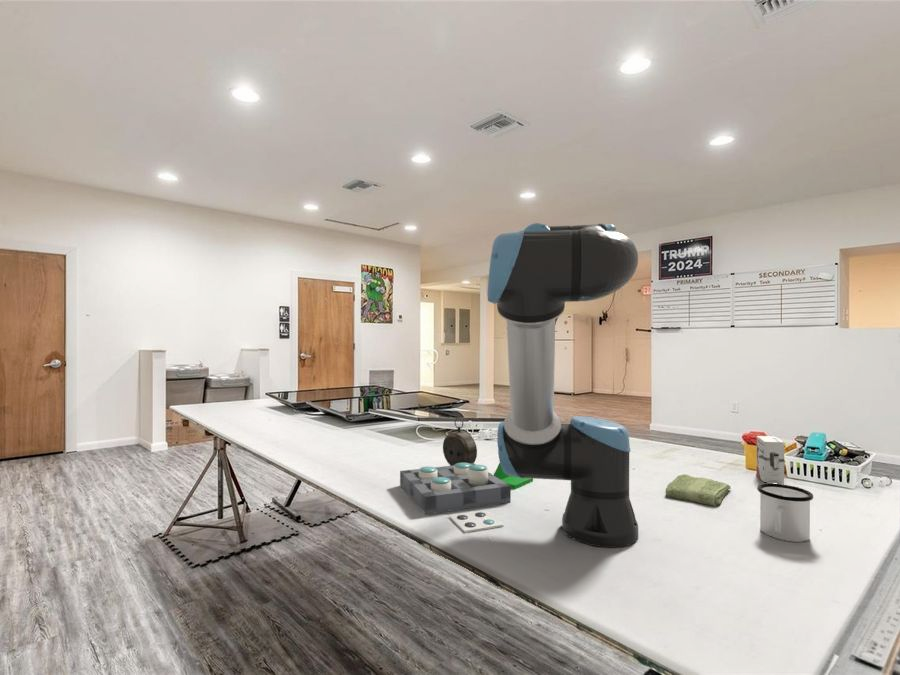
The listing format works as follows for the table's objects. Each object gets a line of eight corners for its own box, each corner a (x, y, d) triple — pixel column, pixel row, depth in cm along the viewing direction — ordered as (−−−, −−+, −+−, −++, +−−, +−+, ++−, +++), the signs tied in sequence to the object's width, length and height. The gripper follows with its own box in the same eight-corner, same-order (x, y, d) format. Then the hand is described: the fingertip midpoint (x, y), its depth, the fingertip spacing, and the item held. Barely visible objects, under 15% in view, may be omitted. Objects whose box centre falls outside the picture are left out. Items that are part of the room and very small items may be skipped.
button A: (454, 499, 114) (454, 481, 114) (434, 502, 112) (434, 483, 112) (446, 493, 118) (446, 475, 118) (428, 495, 117) (428, 477, 117)
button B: (440, 487, 123) (440, 470, 123) (421, 489, 121) (421, 472, 121) (433, 481, 128) (433, 465, 128) (416, 483, 126) (416, 467, 126)
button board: (510, 502, 115) (510, 485, 115) (425, 514, 107) (425, 496, 107) (474, 477, 136) (474, 463, 136) (400, 485, 128) (400, 470, 128)
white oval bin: (762, 521, 104) (762, 480, 104) (816, 533, 97) (816, 490, 97) (749, 538, 95) (749, 493, 95) (807, 553, 89) (807, 505, 89)
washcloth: (732, 491, 125) (732, 479, 125) (718, 510, 112) (718, 496, 112) (679, 481, 134) (679, 470, 134) (660, 497, 120) (660, 485, 120)
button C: (491, 486, 117) (491, 468, 117) (473, 488, 115) (473, 470, 115) (482, 480, 122) (482, 463, 122) (465, 482, 120) (465, 465, 120)
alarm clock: (478, 473, 140) (478, 418, 140) (465, 477, 136) (465, 421, 136) (452, 466, 147) (452, 414, 147) (439, 469, 144) (439, 416, 144)
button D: (475, 482, 127) (475, 466, 127) (457, 484, 125) (457, 468, 125) (467, 477, 131) (467, 461, 131) (451, 479, 130) (451, 463, 129)
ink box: (755, 474, 139) (755, 434, 139) (774, 476, 137) (775, 436, 137) (764, 483, 131) (764, 441, 131) (784, 485, 129) (785, 442, 129)
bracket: (515, 490, 125) (515, 464, 125) (491, 484, 130) (491, 459, 130) (538, 480, 134) (538, 456, 134) (515, 474, 139) (515, 451, 139)
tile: (503, 526, 101) (503, 523, 101) (464, 532, 97) (464, 530, 97) (485, 511, 109) (485, 509, 109) (449, 517, 106) (449, 514, 106)
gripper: (549, 288, 131) (549, 373, 131) (508, 286, 126) (508, 374, 126) (565, 286, 124) (565, 375, 124) (522, 284, 119) (522, 377, 119)
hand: (536, 375), depth 125 cm, fingers closed
